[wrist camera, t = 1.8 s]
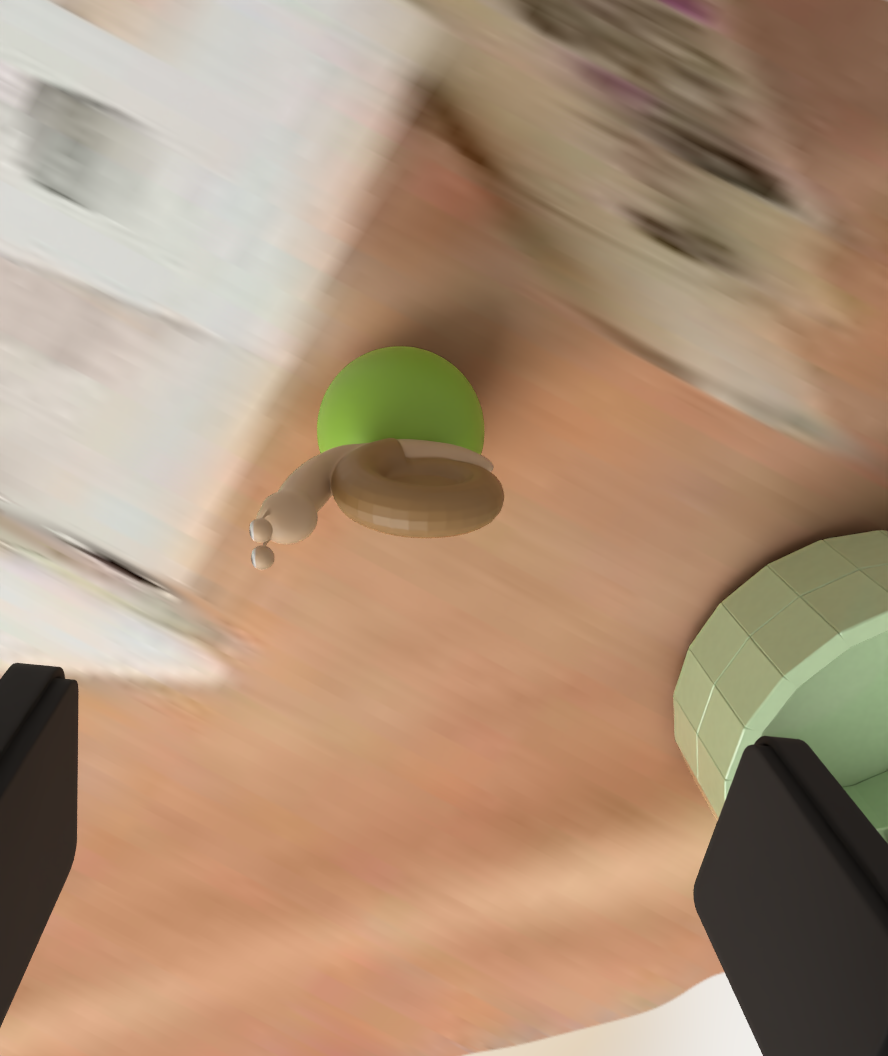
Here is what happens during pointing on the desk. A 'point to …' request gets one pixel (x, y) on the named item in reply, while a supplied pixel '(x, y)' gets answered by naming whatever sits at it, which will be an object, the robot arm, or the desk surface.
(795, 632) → the green round bowl
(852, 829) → the robot arm
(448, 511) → the snail figurine
